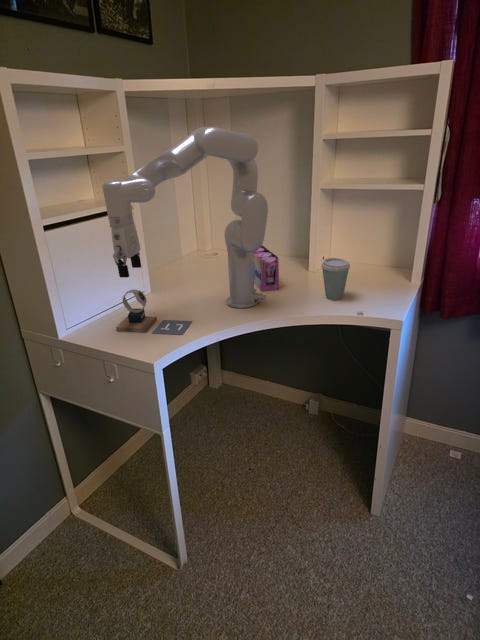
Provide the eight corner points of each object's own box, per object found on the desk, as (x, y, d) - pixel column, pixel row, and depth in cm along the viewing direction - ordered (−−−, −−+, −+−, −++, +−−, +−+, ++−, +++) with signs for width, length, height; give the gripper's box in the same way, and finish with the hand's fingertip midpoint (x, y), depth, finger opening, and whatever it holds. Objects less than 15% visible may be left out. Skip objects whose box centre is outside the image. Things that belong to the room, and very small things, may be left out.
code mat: (192, 321, 152) (192, 320, 151) (182, 335, 142) (182, 334, 142) (163, 320, 154) (163, 319, 154) (151, 333, 144) (151, 332, 144)
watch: (146, 322, 149) (142, 293, 144) (124, 323, 149) (119, 293, 145) (150, 316, 154) (146, 287, 149) (128, 316, 154) (124, 288, 150)
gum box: (280, 290, 177) (280, 258, 171) (262, 292, 175) (261, 260, 169) (263, 273, 198) (262, 244, 192) (247, 275, 196) (245, 246, 191)
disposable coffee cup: (352, 295, 168) (354, 258, 162) (342, 304, 160) (344, 266, 154) (326, 291, 173) (328, 255, 167) (315, 299, 165) (317, 262, 159)
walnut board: (157, 320, 154) (156, 316, 153) (146, 332, 145) (146, 328, 144) (129, 319, 156) (128, 315, 155) (116, 331, 147) (115, 327, 146)
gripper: (120, 227, 127) (130, 281, 134) (143, 214, 142) (151, 264, 149) (97, 227, 128) (108, 281, 135) (122, 215, 143) (131, 264, 151)
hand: (130, 272), depth 142 cm, fingers open, 9 cm apart
